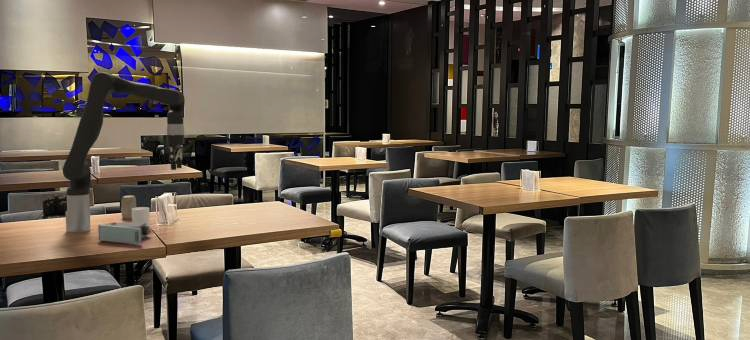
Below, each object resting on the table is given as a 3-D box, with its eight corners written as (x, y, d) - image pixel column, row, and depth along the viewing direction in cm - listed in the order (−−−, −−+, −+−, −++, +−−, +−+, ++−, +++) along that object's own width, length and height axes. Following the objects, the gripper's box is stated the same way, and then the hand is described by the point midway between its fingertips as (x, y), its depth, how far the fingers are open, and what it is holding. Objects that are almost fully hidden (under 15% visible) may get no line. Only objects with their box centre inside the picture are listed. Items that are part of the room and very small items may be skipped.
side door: (96, 240, 238) (96, 225, 237) (100, 239, 239) (99, 224, 239) (138, 244, 231) (137, 228, 231) (141, 243, 233) (140, 228, 232)
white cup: (132, 231, 260) (132, 210, 259) (131, 228, 267) (130, 207, 266) (151, 230, 263) (150, 209, 262) (149, 227, 270) (148, 206, 269)
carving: (139, 218, 293) (138, 195, 292) (127, 220, 286) (126, 197, 285) (131, 217, 296) (130, 194, 295) (118, 219, 289) (118, 196, 288)
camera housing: (101, 240, 240) (100, 225, 240) (109, 236, 249) (109, 221, 249) (142, 240, 241) (142, 225, 240) (149, 236, 250) (149, 221, 249)
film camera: (62, 216, 298) (62, 197, 297) (39, 216, 298) (38, 197, 297) (81, 210, 316) (80, 193, 315) (59, 210, 316) (58, 192, 315)
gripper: (172, 133, 266) (172, 167, 267) (162, 134, 251) (163, 170, 253) (188, 133, 266) (188, 167, 267) (179, 134, 252) (180, 170, 253)
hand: (176, 168), depth 260 cm, fingers open, 8 cm apart
